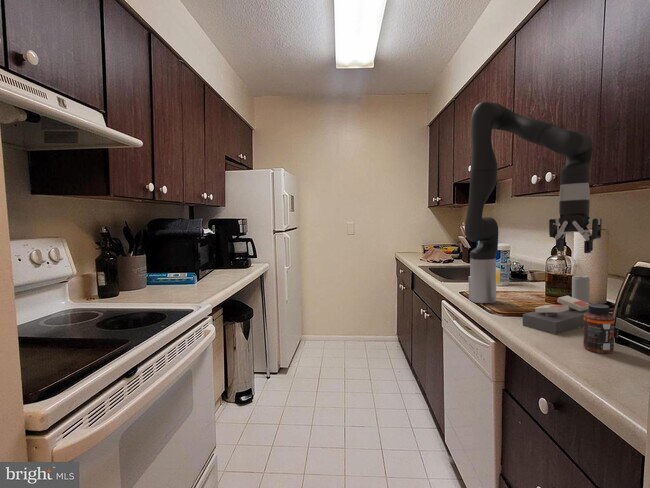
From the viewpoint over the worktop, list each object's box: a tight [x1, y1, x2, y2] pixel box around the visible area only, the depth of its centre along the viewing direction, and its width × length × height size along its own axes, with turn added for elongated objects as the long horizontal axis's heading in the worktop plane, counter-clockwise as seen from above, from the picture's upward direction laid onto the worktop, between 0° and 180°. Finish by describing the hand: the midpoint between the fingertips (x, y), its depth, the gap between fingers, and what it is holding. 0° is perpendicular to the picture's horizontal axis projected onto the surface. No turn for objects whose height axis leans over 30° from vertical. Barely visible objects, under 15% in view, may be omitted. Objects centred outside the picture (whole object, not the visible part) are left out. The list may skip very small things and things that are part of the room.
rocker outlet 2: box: [556, 294, 590, 311], centre depth 107 cm, size 7×5×2 cm
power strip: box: [522, 304, 589, 336], centre depth 105 cm, size 10×22×4 cm, turn 114°
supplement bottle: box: [583, 303, 615, 355], centre depth 84 cm, size 6×6×11 cm
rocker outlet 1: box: [534, 304, 569, 312], centre depth 103 cm, size 7×5×2 cm
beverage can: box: [571, 274, 591, 304], centre depth 116 cm, size 5×5×12 cm
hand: (573, 251), depth 106 cm, fingers open, 7 cm apart
